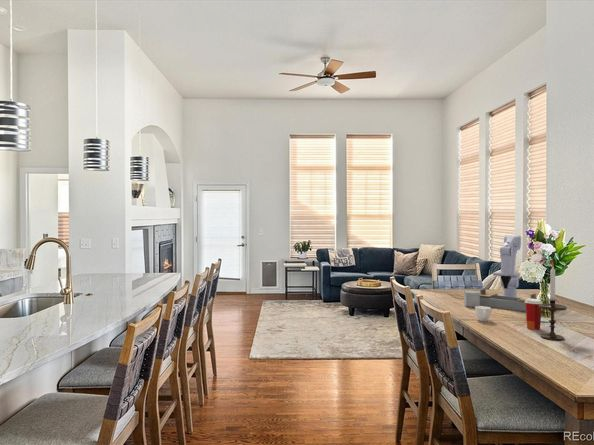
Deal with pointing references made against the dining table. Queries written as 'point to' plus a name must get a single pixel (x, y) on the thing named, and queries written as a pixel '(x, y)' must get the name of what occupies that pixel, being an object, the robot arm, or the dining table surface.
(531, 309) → the paper cup
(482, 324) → the dining table surface
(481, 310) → the cup
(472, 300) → the medicine box
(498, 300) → the lid box
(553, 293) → the candlestick
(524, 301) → the ash panel
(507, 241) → the robot arm
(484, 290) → the wooden sliding lid
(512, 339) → the dining table surface
